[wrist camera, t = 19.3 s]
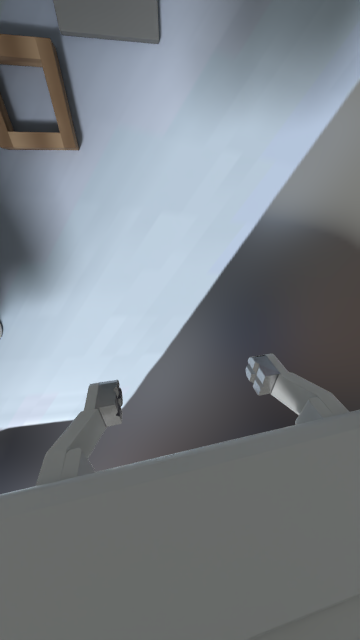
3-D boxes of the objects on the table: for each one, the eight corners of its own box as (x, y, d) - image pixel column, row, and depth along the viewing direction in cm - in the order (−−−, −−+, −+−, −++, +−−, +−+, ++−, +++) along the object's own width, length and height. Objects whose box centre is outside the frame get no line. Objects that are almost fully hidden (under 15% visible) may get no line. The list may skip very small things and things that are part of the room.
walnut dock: (8, 149, 27) (0, 147, 25) (-34, 40, 22) (-47, 29, 20) (79, 150, 28) (76, 148, 27) (55, 48, 23) (50, 38, 21)
